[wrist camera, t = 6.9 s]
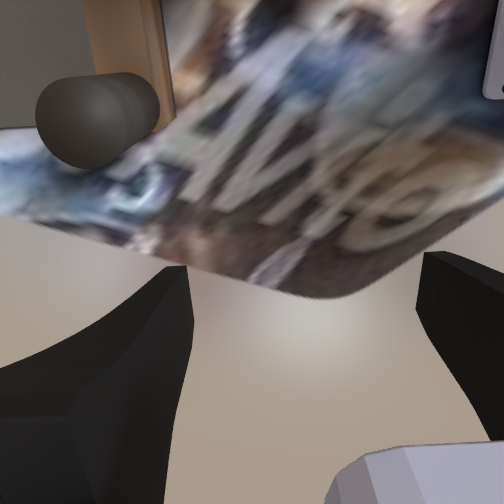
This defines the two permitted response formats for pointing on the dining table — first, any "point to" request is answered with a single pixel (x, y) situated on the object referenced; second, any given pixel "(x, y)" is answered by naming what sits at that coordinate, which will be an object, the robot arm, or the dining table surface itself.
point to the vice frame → (42, 53)
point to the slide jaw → (110, 87)
